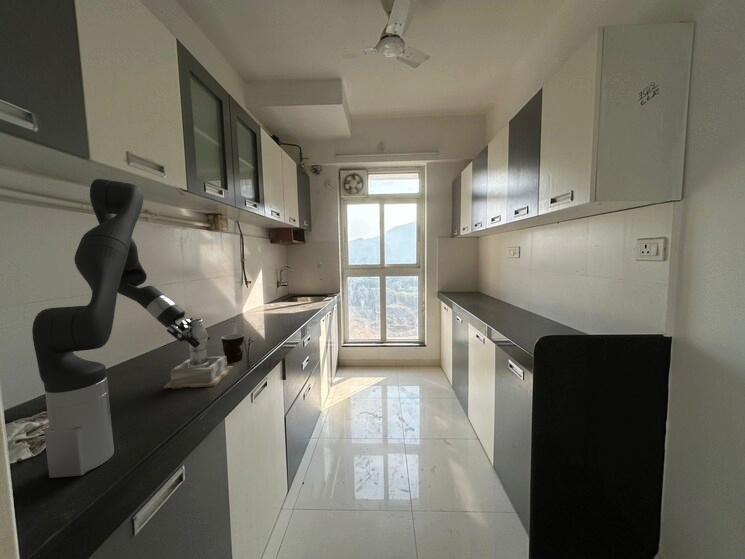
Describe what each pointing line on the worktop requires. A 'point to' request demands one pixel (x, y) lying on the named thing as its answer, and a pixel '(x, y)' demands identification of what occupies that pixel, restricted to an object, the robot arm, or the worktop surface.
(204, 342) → the plastic bottle
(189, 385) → the plate
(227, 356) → the coffee mug
